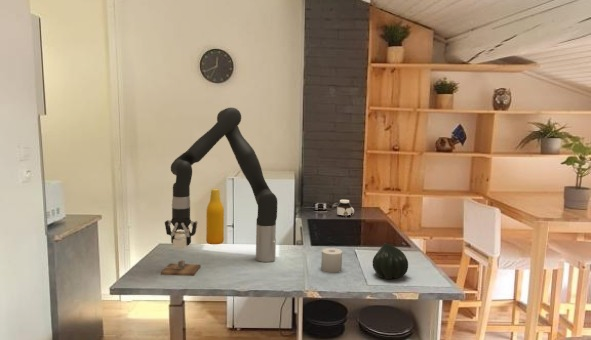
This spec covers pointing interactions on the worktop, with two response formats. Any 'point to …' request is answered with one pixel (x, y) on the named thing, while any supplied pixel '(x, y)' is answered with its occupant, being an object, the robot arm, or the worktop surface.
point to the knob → (180, 239)
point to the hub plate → (181, 269)
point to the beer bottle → (215, 219)
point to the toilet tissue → (331, 260)
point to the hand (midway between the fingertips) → (181, 244)
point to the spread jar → (344, 208)
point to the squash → (390, 262)
